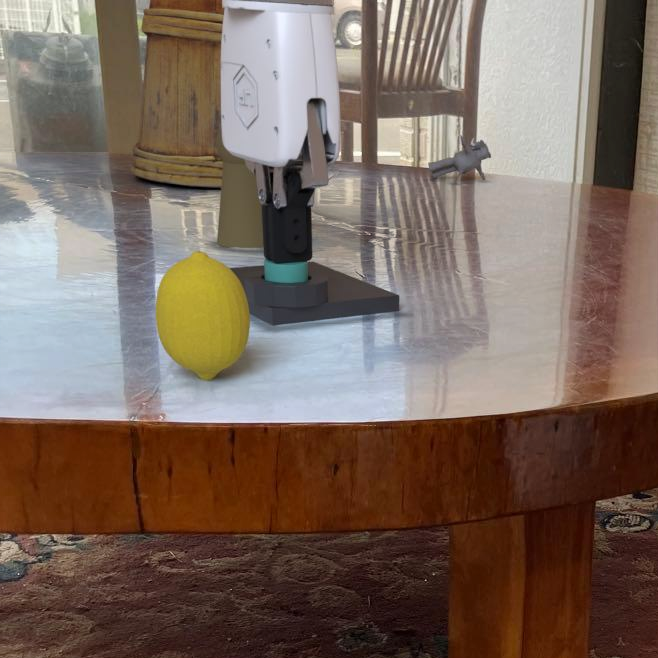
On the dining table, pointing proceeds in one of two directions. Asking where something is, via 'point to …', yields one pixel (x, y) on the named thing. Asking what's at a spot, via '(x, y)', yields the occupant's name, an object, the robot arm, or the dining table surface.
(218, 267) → the lemon
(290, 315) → the dark button base
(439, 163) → the grey branched piece
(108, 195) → the dining table surface
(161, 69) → the tankard
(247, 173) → the cork
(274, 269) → the button
